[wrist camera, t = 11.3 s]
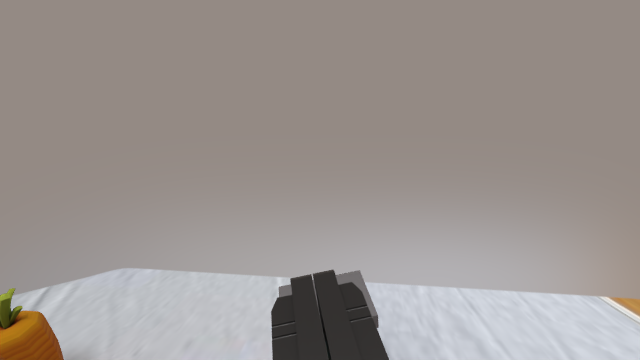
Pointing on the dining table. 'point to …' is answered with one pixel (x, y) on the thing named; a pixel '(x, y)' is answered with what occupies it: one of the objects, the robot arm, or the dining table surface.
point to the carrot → (25, 334)
